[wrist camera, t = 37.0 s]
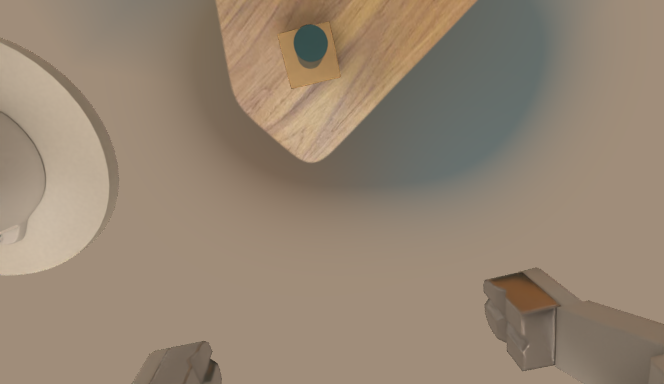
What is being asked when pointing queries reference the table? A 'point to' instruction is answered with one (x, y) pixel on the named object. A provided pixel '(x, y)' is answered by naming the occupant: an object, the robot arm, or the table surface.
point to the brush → (309, 54)
